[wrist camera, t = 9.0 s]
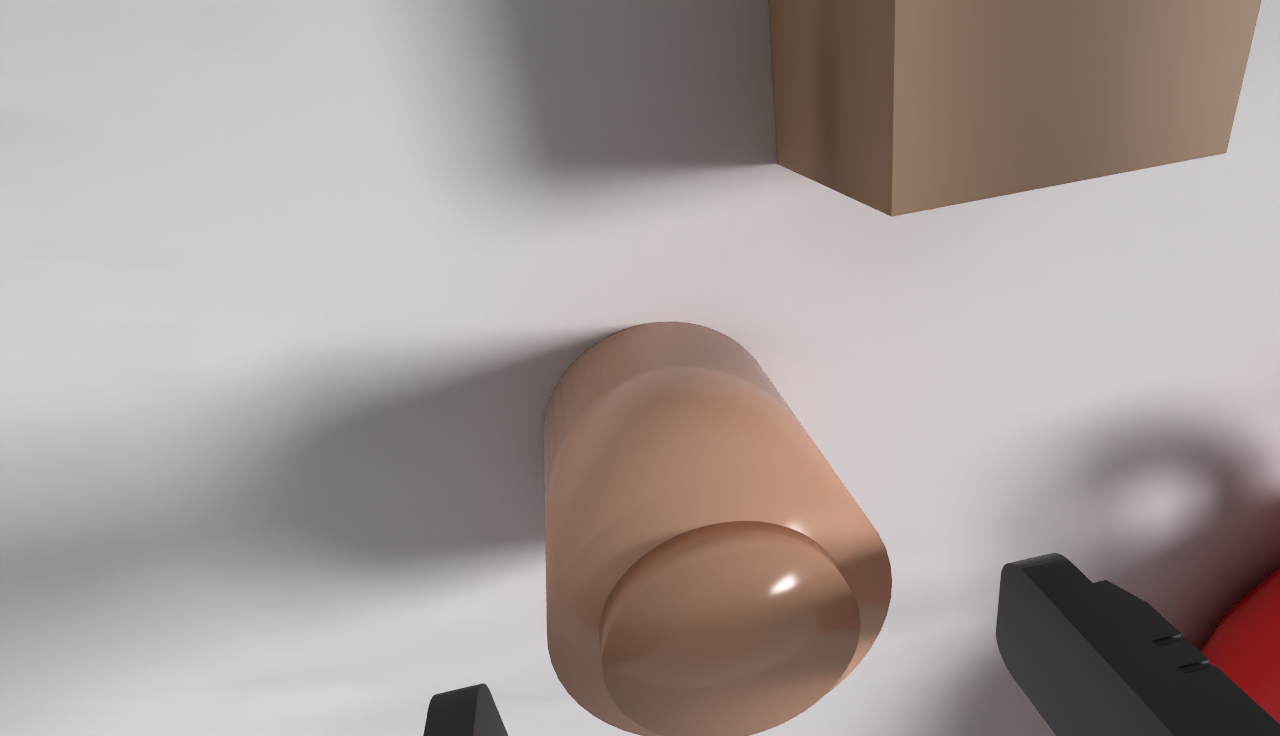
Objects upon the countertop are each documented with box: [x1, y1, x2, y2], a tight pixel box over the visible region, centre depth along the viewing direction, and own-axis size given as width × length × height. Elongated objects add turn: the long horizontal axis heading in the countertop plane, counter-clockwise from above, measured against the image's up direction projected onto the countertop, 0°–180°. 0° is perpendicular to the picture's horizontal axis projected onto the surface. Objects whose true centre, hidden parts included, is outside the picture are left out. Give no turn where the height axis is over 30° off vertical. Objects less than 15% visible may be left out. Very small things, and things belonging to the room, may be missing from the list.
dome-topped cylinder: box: [544, 322, 892, 736], centre depth 13 cm, size 6×6×7 cm
